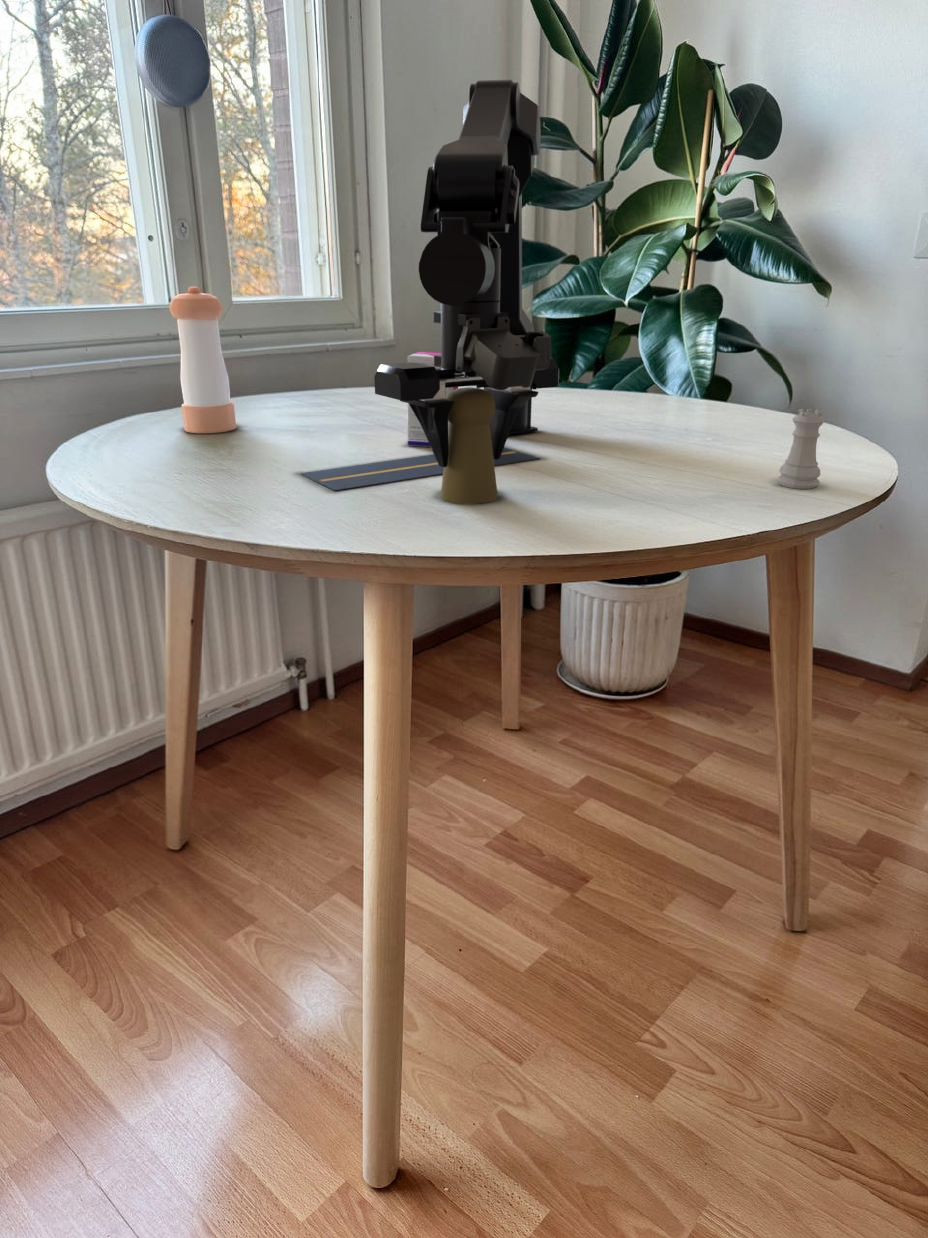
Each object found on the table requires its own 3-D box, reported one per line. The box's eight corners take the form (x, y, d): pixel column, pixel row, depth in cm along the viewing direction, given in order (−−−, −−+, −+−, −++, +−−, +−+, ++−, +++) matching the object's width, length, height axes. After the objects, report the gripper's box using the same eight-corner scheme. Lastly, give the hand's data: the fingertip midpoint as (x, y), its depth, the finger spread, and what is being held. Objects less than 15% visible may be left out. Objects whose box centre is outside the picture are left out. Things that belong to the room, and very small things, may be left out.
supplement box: (450, 448, 109) (449, 356, 104) (406, 446, 110) (404, 355, 105) (459, 439, 114) (459, 351, 109) (417, 437, 115) (415, 350, 110)
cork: (438, 489, 90) (437, 384, 85) (494, 487, 90) (496, 383, 86) (442, 504, 84) (441, 393, 80) (501, 503, 85) (503, 392, 80)
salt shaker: (233, 432, 118) (218, 287, 110) (180, 434, 117) (160, 287, 109) (238, 423, 124) (223, 285, 117) (188, 424, 123) (170, 285, 116)
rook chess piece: (814, 491, 89) (828, 416, 86) (771, 485, 91) (783, 411, 88) (822, 482, 92) (836, 409, 89) (781, 477, 95) (792, 406, 91)
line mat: (497, 445, 110) (497, 445, 110) (540, 458, 103) (540, 457, 103) (300, 474, 96) (300, 473, 96) (334, 491, 89) (334, 490, 89)
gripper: (431, 306, 69) (433, 491, 75) (600, 301, 78) (590, 466, 84) (368, 301, 77) (375, 468, 83) (527, 298, 87) (523, 447, 93)
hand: (469, 462), depth 86 cm, fingers closed on cork, 6 cm apart
